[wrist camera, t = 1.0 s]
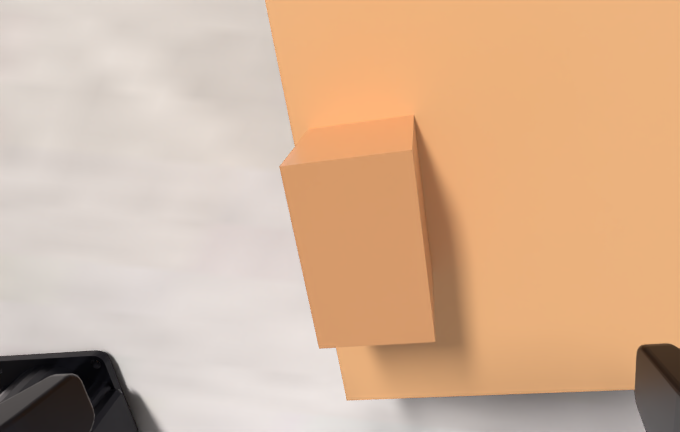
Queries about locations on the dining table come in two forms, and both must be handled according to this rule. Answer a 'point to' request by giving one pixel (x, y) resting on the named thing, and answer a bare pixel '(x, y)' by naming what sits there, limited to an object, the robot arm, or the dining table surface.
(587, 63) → the lid
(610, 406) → the dining table surface
